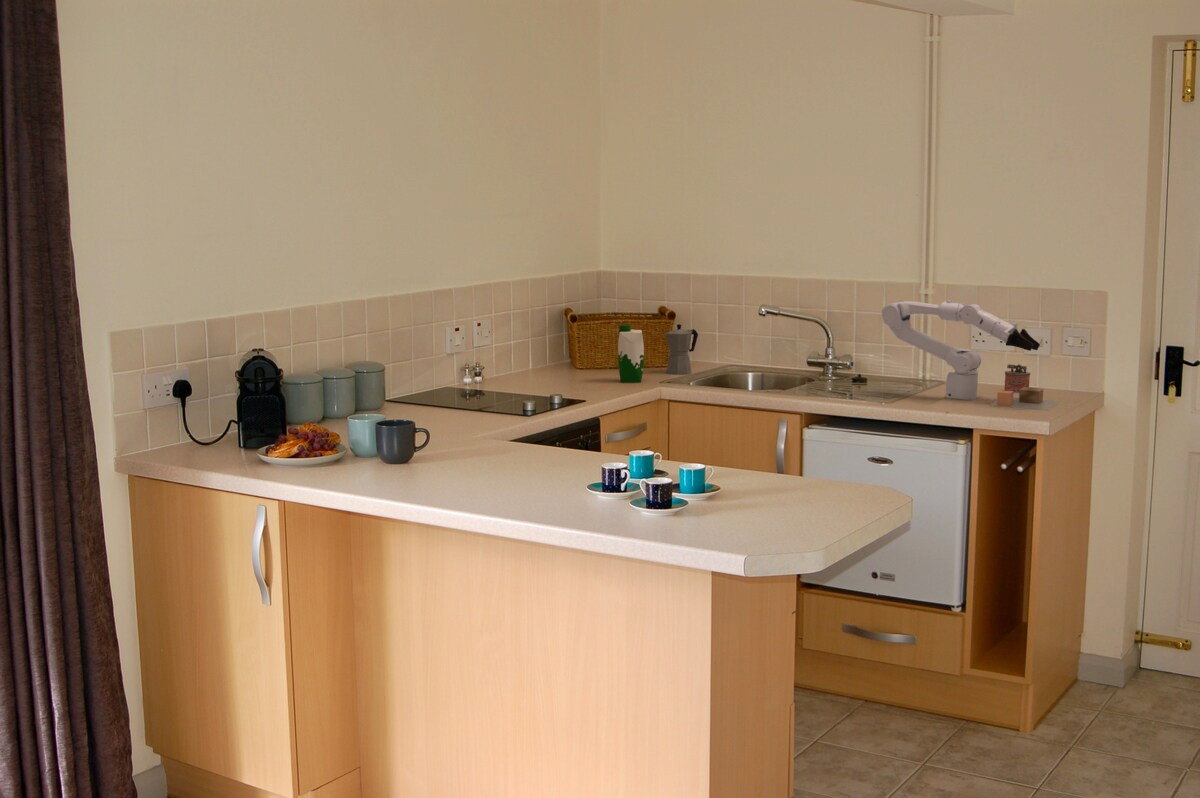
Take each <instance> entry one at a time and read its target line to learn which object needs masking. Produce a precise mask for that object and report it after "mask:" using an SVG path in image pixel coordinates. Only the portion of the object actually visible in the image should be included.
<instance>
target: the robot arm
mask: <svg viewBox="0 0 1200 798" xmlns="http://www.w3.org/2000/svg"><path fill="white" fill-rule="evenodd" d="M914 314H923V315H934V316H938V317H939V319H940V320H945V321H953V322H963V324H966V325H973V326H974V327H976V328H978V329H979V330H981V331H984V332H986V333H987V334H989V335H991V336H992V337H994V338H997V339H998V340H1000V341H1002V342H1003V343H1005V346H1007V347H1008V346H1009V347H1015V348H1019V349H1022V350H1025V351H1030V352H1031V351H1032V350H1033V351H1038V349H1039V348H1040V346H1041V344H1040V342H1038V341H1037V340H1036V339H1034V338H1033V337H1032V336H1031V335H1030V334H1029V333H1028V331H1027V330H1026V329H1025V328H1021V330H1020V331H1019V330H1018V328H1017V325H1018V322H1014V323H1013V324H1011V323H1010V322H1007V321H1005V320H1003V319H1002V318H999V317H998V316H996V315H994V314H992V313H990V312H988V311H986V310H983V308H982V307H981V306H980V304H979V305H978V304H976V303H969V304H967V302H965V301H964V302H961V303H959V302H952V300H950V299H949V300H946V301H942V303H940V304H935V303H934V304H933V303H926V302H920V301H915V300H914V301H913V300H912V301H911V300H907V301H904V300H903V301H902V300H900V301H897V302H891V303H889V302H888V303H887V304H885V305H884V306H883V307H882V310H881V315H882V320H883V323H884V324H885V325H886V326H887V327H889V329H890V330H891V331H892V332H893V334H894V335H895V337H896V338H897V339H899V340H900V341H902V342H905V343H906V344H909V345H911V346H914V347H915V348H916V349H917V348H918V349H920V350H922V351H924V352H926V353H928V354H930V355H933V356H935V357H937V358H939V359H941V360H943V361H945V362H946V364H947V365H948V366H950V367H952V369H954V372H948V374H947V375H946V385H945V386H946V387H945V399H956V400H967V401H968V400H976V399H978V385H979V384H978V382H979V371H978V368H979V367H980V366H981V364H982V358H981V355H980V354H979V353H978V352H977V351H975V350H966V349H964V348H960V347H954V346H952V345H950V344H949V343H946V342H944V341H942V340H939V339H937V338H935V337H933V336H931V335H929V334H926V333H924V332H922V331H920V330H917V329H916V328H913V327H912V324H911V316H912V315H914Z"/></svg>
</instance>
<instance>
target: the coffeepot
mask: <svg viewBox="0 0 1200 798" xmlns="http://www.w3.org/2000/svg"><path fill="white" fill-rule="evenodd" d="M676 328H677V329H674V330H669V331H666V332H665V333H664V337H665V338H666V341H667V347H668V351H669V355H668V360H667V366H666V373H667V374H668V375H676V376H677V375H679V376H680V375H689V374H691V373H692V366H691V360H690V355H689V353H690V352H691V353H692V352H694V351H695V348H696V344H697V340H698V338H699V334H698V332H697V331H696V329H694V328H693V329H692V328H691V329H686V330H685V329H682V324H680V323H678V324H676ZM692 335H693V337H692ZM691 339H692V340H691ZM691 341H692V343H691ZM690 346H691V348H690Z"/></svg>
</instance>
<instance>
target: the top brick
mask: <svg viewBox="0 0 1200 798" xmlns="http://www.w3.org/2000/svg"><path fill="white" fill-rule="evenodd" d="M1013 397H1014V392H1013V391H1004V390H1002V389H1001V390H999V391H997V393H996V400H997V405H1002V406H1011V405H1012V404H1013Z"/></svg>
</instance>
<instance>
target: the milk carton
mask: <svg viewBox="0 0 1200 798" xmlns="http://www.w3.org/2000/svg"><path fill="white" fill-rule="evenodd" d="M644 349H645V346H644V337H643V331H642V329H631V325H630V324H619V325H618V344H617V350H618V352H617V354H618V359H617V363H618V372H619V373H618V374H619V378H620V383H621V384H622V383H623V384H624V383H625V384H626V383H627V384H629V383H631V384H632V383H633V384H634V383H642V379H643V375H644V367H645V365H644V364H645V354H644V353H645V350H644Z"/></svg>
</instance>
